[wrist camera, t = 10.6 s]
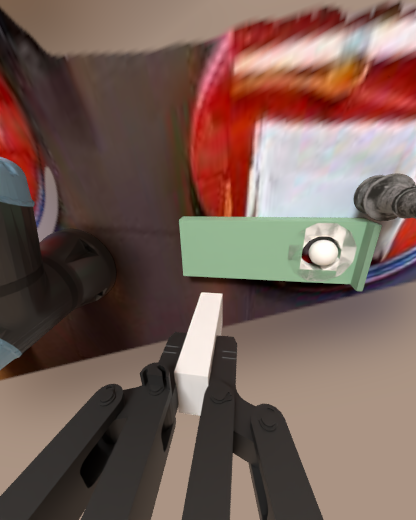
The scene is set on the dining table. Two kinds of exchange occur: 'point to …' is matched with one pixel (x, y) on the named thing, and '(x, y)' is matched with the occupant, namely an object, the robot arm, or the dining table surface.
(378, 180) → the dark grey figurine
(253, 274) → the green flat block
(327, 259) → the ball
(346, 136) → the dining table surface
